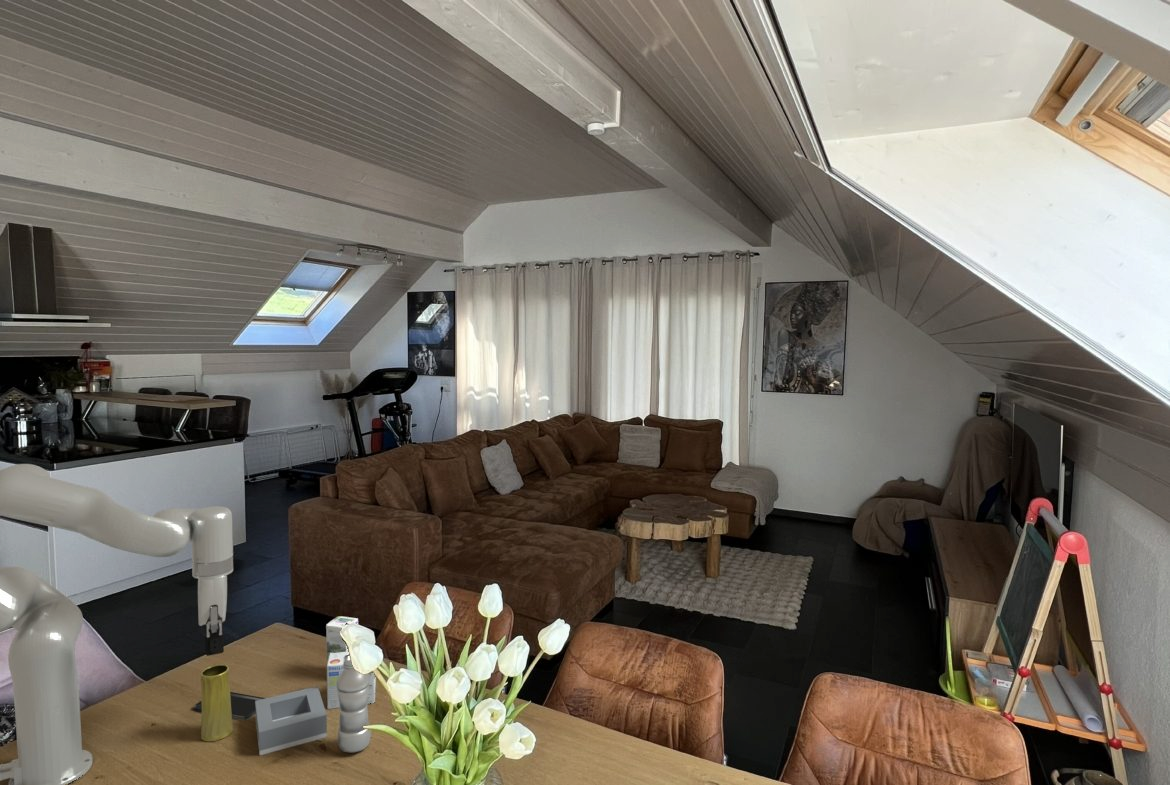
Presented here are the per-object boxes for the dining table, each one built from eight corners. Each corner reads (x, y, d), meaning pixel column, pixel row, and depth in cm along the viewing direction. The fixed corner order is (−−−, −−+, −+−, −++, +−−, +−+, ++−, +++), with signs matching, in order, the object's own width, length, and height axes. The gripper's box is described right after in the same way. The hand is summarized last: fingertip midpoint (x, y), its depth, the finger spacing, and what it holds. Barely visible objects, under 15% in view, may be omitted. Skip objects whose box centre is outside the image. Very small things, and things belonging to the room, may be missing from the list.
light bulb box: (376, 689, 159) (375, 646, 158) (375, 704, 153) (374, 660, 152) (329, 694, 156) (329, 651, 155) (326, 710, 150) (325, 665, 149)
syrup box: (359, 671, 167) (359, 617, 166) (346, 683, 161) (345, 627, 160) (340, 668, 168) (339, 614, 167) (326, 680, 162) (325, 624, 161)
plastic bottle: (368, 756, 134) (367, 663, 132) (334, 758, 133) (332, 665, 131) (373, 736, 140) (372, 648, 138) (340, 739, 139) (339, 649, 137)
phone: (218, 689, 156) (271, 698, 152) (218, 694, 156) (271, 703, 152) (190, 707, 148) (245, 718, 145) (190, 712, 148) (246, 722, 145)
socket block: (259, 755, 133) (259, 732, 133) (255, 722, 144) (255, 700, 144) (326, 736, 140) (326, 714, 139) (318, 706, 151) (317, 686, 151)
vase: (195, 735, 140) (193, 671, 138) (224, 721, 145) (222, 660, 143) (209, 745, 136) (207, 680, 135) (238, 731, 141) (236, 668, 140)
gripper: (193, 556, 143) (195, 631, 144) (191, 583, 128) (193, 666, 129) (231, 551, 146) (233, 624, 148) (234, 576, 132) (236, 657, 133)
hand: (214, 643), depth 139 cm, fingers open, 9 cm apart
